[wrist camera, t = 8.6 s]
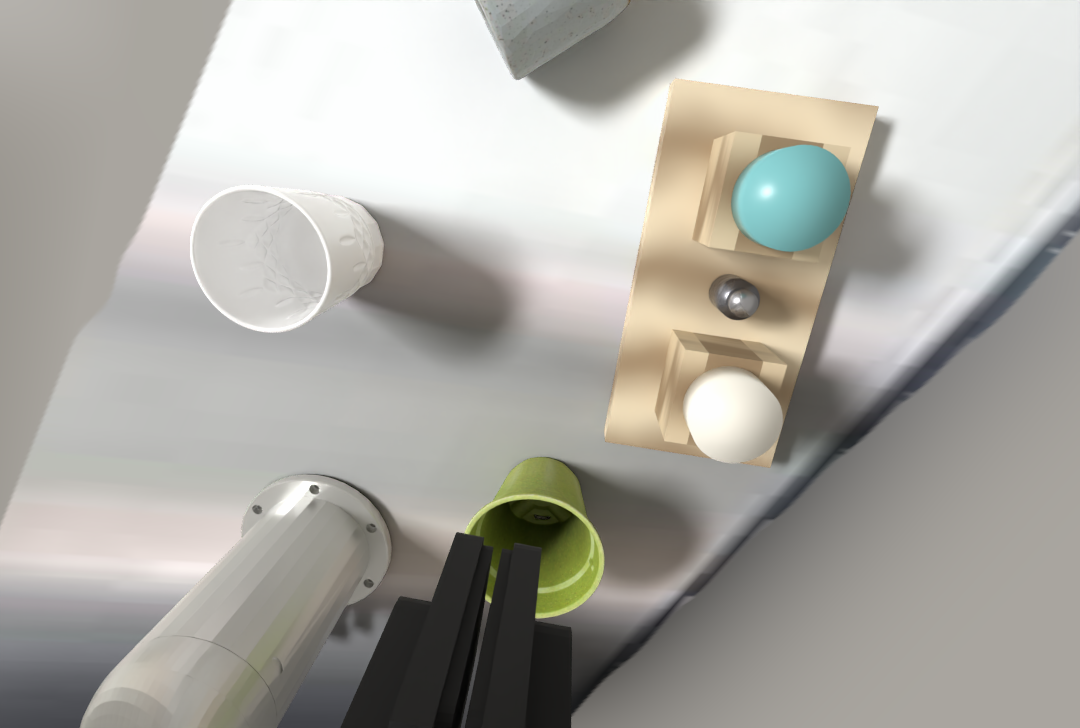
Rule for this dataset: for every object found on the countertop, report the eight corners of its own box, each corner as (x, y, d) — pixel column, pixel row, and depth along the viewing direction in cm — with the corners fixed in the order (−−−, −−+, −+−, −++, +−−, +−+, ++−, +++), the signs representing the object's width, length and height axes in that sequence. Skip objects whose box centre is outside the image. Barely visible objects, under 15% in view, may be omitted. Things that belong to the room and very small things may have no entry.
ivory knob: (734, 417, 38) (769, 469, 31) (663, 406, 38) (681, 455, 31) (752, 349, 37) (793, 388, 30) (678, 338, 37) (701, 373, 30)
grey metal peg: (740, 312, 36) (759, 327, 33) (704, 307, 36) (718, 320, 33) (750, 276, 36) (770, 287, 32) (713, 271, 36) (728, 280, 32)
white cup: (408, 216, 38) (350, 225, 29) (372, 316, 40) (307, 355, 31) (302, 166, 38) (207, 159, 28) (272, 271, 40) (175, 296, 31)
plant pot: (485, 537, 46) (463, 614, 37) (482, 434, 43) (458, 492, 34) (598, 543, 45) (601, 622, 37) (603, 438, 42) (607, 499, 34)
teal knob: (781, 244, 35) (832, 258, 27) (702, 232, 35) (733, 243, 28) (803, 160, 33) (864, 152, 26) (721, 149, 33) (758, 137, 26)
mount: (761, 454, 41) (795, 505, 35) (604, 430, 42) (608, 475, 35) (862, 111, 34) (930, 92, 27) (669, 84, 34) (690, 59, 28)
